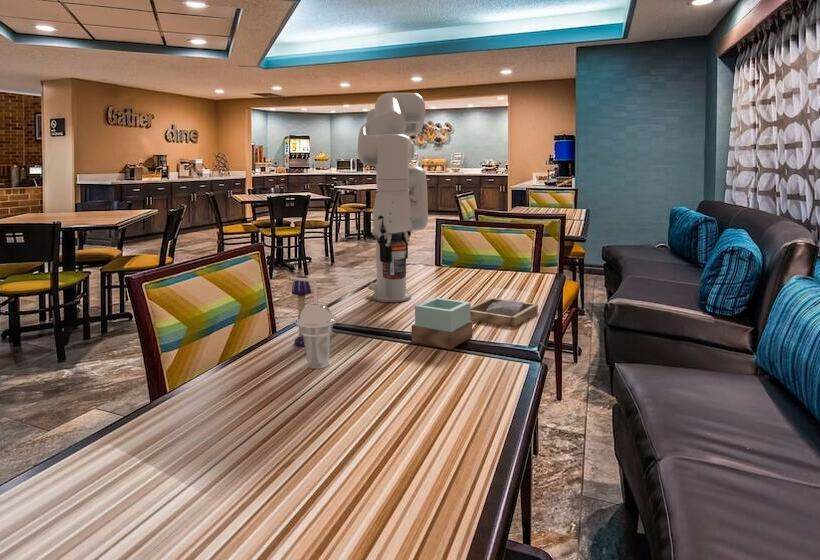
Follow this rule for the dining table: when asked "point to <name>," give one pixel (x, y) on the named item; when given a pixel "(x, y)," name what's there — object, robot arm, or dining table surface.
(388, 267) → the supplement bottle
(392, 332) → the dining table surface
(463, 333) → the tower base
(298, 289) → the toy lamp
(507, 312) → the stone block
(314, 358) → the cup with straw
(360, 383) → the dining table surface
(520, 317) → the frame
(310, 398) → the dining table surface
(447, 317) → the tower top
